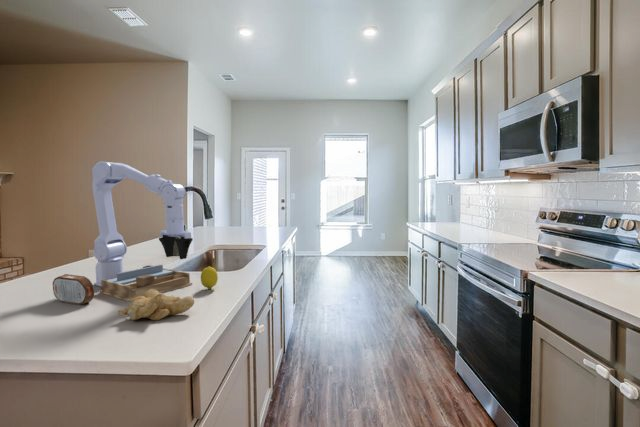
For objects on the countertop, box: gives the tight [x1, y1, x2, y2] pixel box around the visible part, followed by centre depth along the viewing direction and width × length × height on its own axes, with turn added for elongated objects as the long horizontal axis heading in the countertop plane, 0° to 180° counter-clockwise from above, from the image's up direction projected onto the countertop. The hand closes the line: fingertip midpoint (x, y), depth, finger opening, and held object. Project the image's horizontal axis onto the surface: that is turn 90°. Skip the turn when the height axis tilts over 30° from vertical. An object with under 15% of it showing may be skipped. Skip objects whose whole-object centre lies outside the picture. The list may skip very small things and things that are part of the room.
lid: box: [107, 264, 173, 285], centre depth 126 cm, size 8×20×3 cm, turn 147°
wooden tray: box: [99, 267, 193, 303], centre depth 124 cm, size 19×23×4 cm
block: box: [136, 274, 156, 288], centre depth 119 cm, size 4×4×5 cm
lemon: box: [200, 265, 219, 290], centre depth 122 cm, size 6×6×8 cm
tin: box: [52, 273, 95, 306], centre depth 110 cm, size 15×3×8 cm, turn 70°
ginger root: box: [117, 289, 195, 321], centre depth 97 cm, size 16×16×8 cm
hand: (176, 257), depth 125 cm, fingers open, 7 cm apart
